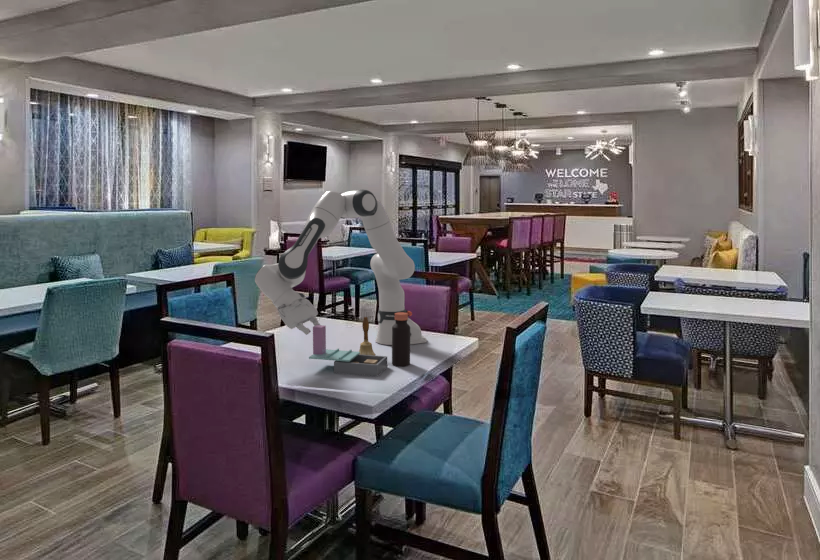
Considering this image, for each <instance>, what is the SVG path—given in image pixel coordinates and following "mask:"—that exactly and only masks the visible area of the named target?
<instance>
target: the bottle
mask: <svg viewBox="0 0 820 560" xmlns="http://www.w3.org/2000/svg"><path fill="white" fill-rule="evenodd" d="M408 318H409V317H408V313H404V312H398V313H395V321H396V323H395V324H394V325H393V326H392V345H391V366H393V367H398V368H399V367H400V368H404V367H409V366H410V365H411V345H410V326H409V325H408V324H407V321H408Z"/></svg>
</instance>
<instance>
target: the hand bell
mask: <svg viewBox="0 0 820 560" xmlns="http://www.w3.org/2000/svg"><path fill="white" fill-rule="evenodd" d="M361 324H362V331H363V341H362V342H360V344H359V345H360V346H359V350H358V352H360V354H361V355H374V356H377V355H376V353H375V352H374V350H373V344H372V342H370V341H369V330H370V322H369V319H368V317H367V316H364V317H363V320H362V323H361Z"/></svg>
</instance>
